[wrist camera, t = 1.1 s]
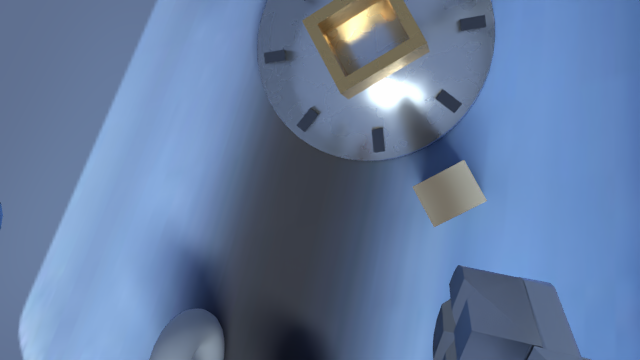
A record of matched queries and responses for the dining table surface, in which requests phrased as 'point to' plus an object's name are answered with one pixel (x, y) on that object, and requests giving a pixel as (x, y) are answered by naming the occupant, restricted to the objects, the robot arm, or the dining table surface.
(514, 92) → the dining table surface
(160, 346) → the donut
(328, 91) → the slotted white disc
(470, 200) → the tall beige block
